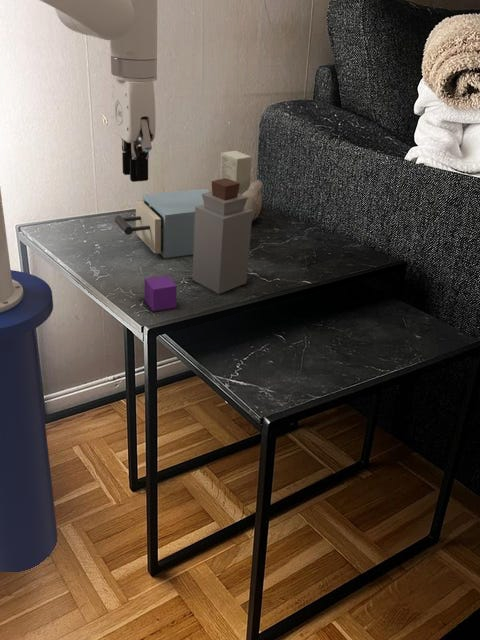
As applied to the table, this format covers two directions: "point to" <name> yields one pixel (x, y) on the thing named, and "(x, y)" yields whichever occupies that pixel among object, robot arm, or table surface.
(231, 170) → the cosmetic box
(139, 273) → the table surface
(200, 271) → the perfume bottle
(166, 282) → the purple rounded cube
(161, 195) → the drawer cabinet
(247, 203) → the decorative bird
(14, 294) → the robot arm
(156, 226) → the beige drawer
